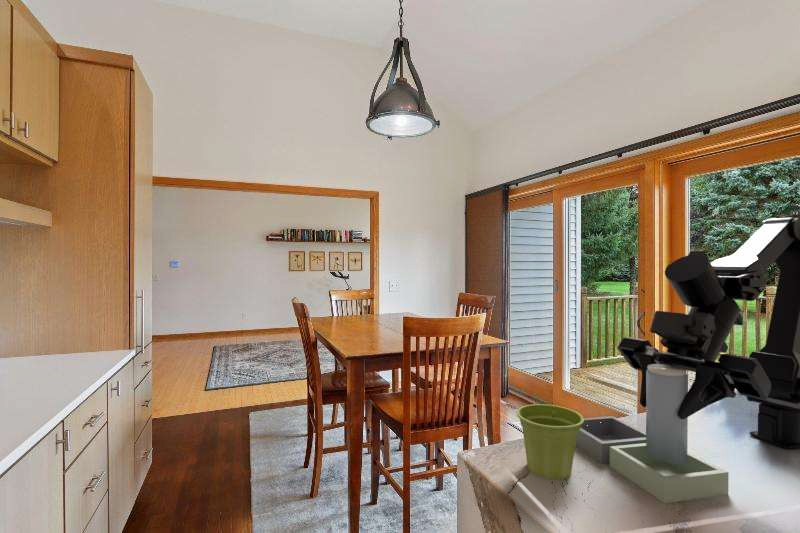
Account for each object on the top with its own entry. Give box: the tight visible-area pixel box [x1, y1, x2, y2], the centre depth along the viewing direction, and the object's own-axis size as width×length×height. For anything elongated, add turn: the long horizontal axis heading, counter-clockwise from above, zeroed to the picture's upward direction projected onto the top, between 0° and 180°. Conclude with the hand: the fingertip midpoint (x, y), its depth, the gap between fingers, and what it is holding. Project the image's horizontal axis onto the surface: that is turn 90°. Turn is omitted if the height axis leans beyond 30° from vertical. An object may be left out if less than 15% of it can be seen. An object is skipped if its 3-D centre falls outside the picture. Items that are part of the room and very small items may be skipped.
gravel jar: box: [645, 364, 689, 464], centre depth 60 cm, size 5×5×12 cm
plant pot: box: [516, 403, 584, 480], centre depth 63 cm, size 9×9×9 cm
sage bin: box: [609, 443, 730, 505], centre depth 60 cm, size 10×10×4 cm
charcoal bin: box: [575, 415, 646, 464], centre depth 71 cm, size 10×10×4 cm
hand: (660, 411), depth 60 cm, fingers closed on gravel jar, 5 cm apart
